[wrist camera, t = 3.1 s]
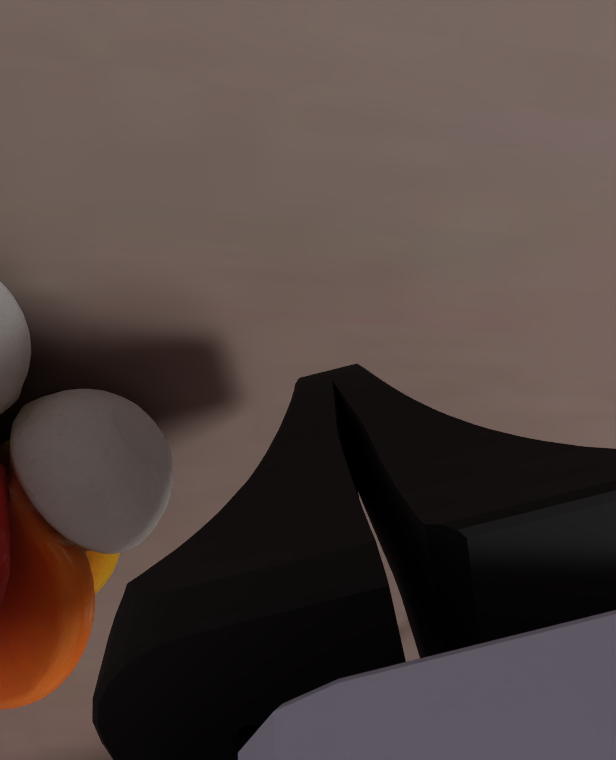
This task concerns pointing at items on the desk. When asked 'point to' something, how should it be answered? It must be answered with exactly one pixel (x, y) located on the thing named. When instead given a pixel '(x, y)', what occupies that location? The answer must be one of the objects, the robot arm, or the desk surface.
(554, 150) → the desk surface
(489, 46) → the desk surface
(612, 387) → the desk surface
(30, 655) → the colorful petals pebble cluster
